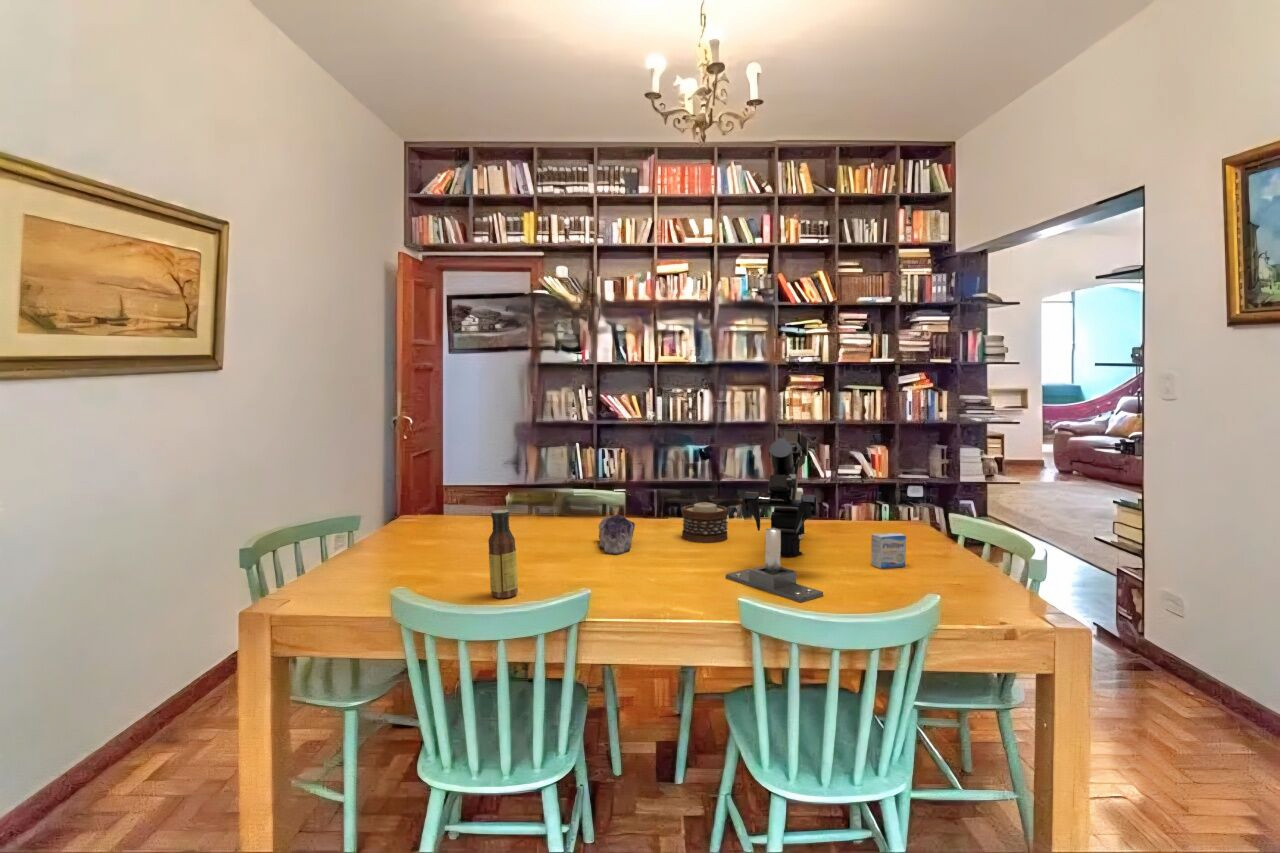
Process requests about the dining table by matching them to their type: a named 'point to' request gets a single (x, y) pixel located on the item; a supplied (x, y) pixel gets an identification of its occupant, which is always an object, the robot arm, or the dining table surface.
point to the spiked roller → (704, 523)
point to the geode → (616, 534)
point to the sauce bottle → (502, 557)
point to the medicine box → (888, 550)
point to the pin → (772, 550)
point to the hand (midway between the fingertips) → (776, 531)
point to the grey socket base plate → (775, 583)
